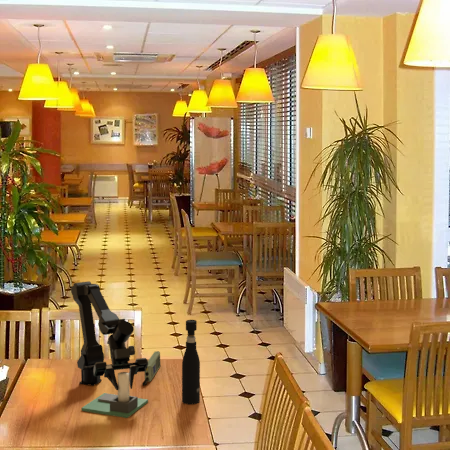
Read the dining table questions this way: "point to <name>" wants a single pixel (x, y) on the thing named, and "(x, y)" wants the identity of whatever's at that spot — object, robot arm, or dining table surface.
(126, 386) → the white cylinder
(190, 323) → the wine bottle
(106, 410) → the board
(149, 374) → the handheld radio
